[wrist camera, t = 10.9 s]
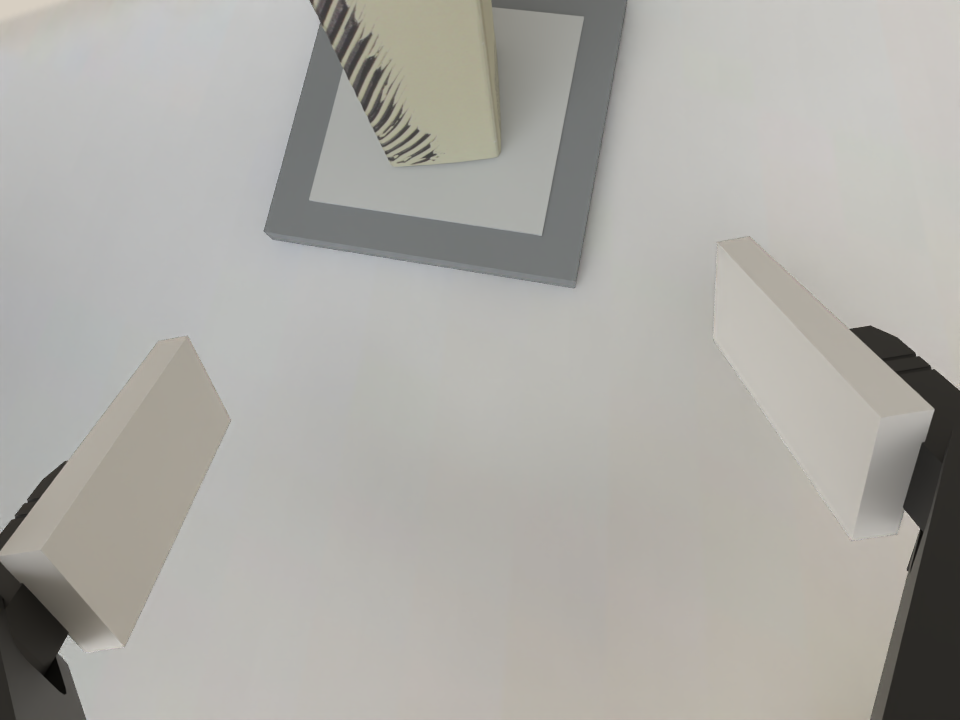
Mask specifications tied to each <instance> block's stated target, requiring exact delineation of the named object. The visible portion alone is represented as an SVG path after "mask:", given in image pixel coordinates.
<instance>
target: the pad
mask: <svg viewBox="0 0 960 720" xmlns="http://www.w3.org/2000/svg"><path fill="white" fill-rule="evenodd" d="M491 3H492V13H493V23H494V33H495V40H496V49H497V62H498V76H499V94H500V115H501V153H500V154H499V156H498V157H495V158H489V159H480V160H472V161H464V162H455V163H445V164H432V165H416V166H400V167H394V166H392V165H391V164H390V162H389V161H388V158H387V156H386V154H385V152H384V150H383V148H382V146H381V144H380V142H379V140H378V138H377V136H376V134H375V132H374V130H373V127H372V126H371V124H370V122H369V120H368V117H367V115H366V114H365V112H364V110H363V108H362V105H361V103H360V101H359V100H358V98H357V96H356V94H355V91H354V89H353V87H352V85H351V84H350V82H349V80H348V78H347V75H346V73H345V71H344V69H343V67H342V66H341V64H340V61H339V59H338V57H337V54H336V53H335V51H334V49H333V47H332V45H331V43H330V41H329V38H328V36H327V34H326V32H325V31H324V29H323V27H322V25H321V23H320V26H319V29H318V33H317V37H316V40H315V44H314V48H313V52H312V55H311V59H310V63H309V66H308V70H307V74H306V77H305V81H304V85H303V88H302V92H301V96H300V99H299V103H298V107H297V111H296V114H295V118H294V122H293V125H292V129H291V133H290V136H289V140H288V144H287V147H286V151H285V155H284V158H283V162H282V166H281V169H280V173H279V177H278V181H277V184H276V188H275V192H274V195H273V199H272V203H271V206H270V210H269V214H268V217H267V221H266V225H265V228H264V232H265V233H266V234H267V235H268V236H269V237H271V238H272V239H274V240H280V241H286V242H292V243H298V244H305V245H311V246H317V247H323V248H329V249H336V250H342V251H348V252H354V253H360V254H366V255H373V256H379V257H385V258H391V259H397V260H404V261H410V262H416V263H422V264H428V265H435V266H441V267H447V268H453V269H459V270H466V271H472V272H478V273H484V274H490V275H497V276H503V277H509V278H515V279H521V280H527V281H534V282H540V283H546V284H552V285H558V286H565V287H571V288H575V284H576V278H577V273H578V267H579V262H580V256H581V251H582V245H583V240H584V235H585V229H586V224H587V218H588V213H589V207H590V202H591V196H592V191H593V185H594V180H595V174H596V169H597V163H598V158H599V152H600V147H601V141H602V136H603V130H604V125H605V119H606V114H607V108H608V103H609V97H610V92H611V86H612V81H613V75H614V70H615V64H616V59H617V53H618V48H619V42H620V37H621V31H622V26H623V20H624V15H625V9H626V4H627V0H491Z"/></svg>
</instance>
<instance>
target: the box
mask: <svg viewBox="0 0 960 720" xmlns="http://www.w3.org/2000/svg"><path fill="white" fill-rule="evenodd" d="M310 2H311V4H312V6H313V8H314V10H315V11H316V13H317V15H318V17H319V20H320V23H321V25H322V27H323V29H324V31H325V32H326V34H327V36H328V38H329V41H330V43H331V45H332V47H333V49H334V51H335V53H336V54H337V57H338V59H339V61H340V64H341V66H342V67H343V69H344V71H345V73H346V75H347V78H348V80H349V82H350V84H351V85H352V87H353V89H354V91H355V94H356V96H357V98H358V100H359V101H360V103H361V105H362V108H363V110H364V112H365V114H366V115H367V117H368V120H369V122H370V124H371V126H372V127H373V130H374V132H375V134H376V136H377V138H378V140H379V142H380V144H381V146H382V148H383V150H384V152H385V154H386V156H387V158H388V161H389V162H390V164H391V165H392V166H394V167H400V166H416V165H432V164H445V163H455V162H464V161H472V160H480V159H489V158H495V157H498V156H499V154H500V153H501V115H500V94H499V76H498V62H497V49H496V40H495V33H494V23H493V13H492V3H491V0H310Z"/></svg>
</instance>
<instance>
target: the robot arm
mask: <svg viewBox="0 0 960 720" xmlns="http://www.w3.org/2000/svg"><path fill="white" fill-rule="evenodd" d="M713 340H714V342H715V343H716V345H717V346H718V348H719V349H720V351H721V352H722V353H723V355H724V356H725V358H726V359H727V361H728V362H729V364H730V365H731V367H732V368H733V369H734V371H735V372H736V374H737V375H738V377H739V378H740V380H741V381H742V383H743V384H744V385H745V387H746V388H747V390H748V391H749V393H750V394H751V396H752V397H753V399H754V400H755V401H756V403H757V404H758V406H759V407H760V409H761V410H762V412H763V413H764V415H765V416H766V417H767V419H768V420H769V422H770V423H771V425H772V426H773V428H774V429H775V431H776V432H777V433H778V435H779V436H780V438H781V439H782V441H783V442H784V444H785V445H786V447H787V448H788V449H789V451H790V452H791V454H792V455H793V457H794V458H795V460H796V461H797V463H798V464H799V465H800V467H801V468H802V470H803V471H804V473H805V474H806V476H807V477H808V479H809V480H810V481H811V483H812V484H813V486H814V487H815V489H816V490H817V492H818V493H819V495H820V496H821V497H822V499H823V500H824V502H825V503H826V505H827V506H828V508H829V509H830V511H831V512H832V513H833V515H834V516H835V518H836V519H837V521H838V522H839V524H840V525H841V527H842V528H843V529H844V531H845V532H846V534H847V535H848V537H849V538H850V540H851V541H855V540H862V539H869V538H876V537H883V536H889V535H896V534H897V533H898V530H899V527H900V523H901V520H902V517H903V513H904V510H905V511H906V512H907V513H908V514H909V515H910V517H911V518H912V519H913V520H914V521H915V523H916V524H917V525H918V526H919V528H920V531H919V534H918V537H917V540H916V543H915V546H914V549H913V552H912V555H911V558H910V561H909V564H908V567H907V571H908V575H907V579H906V583H905V586H904V590H903V594H902V598H901V602H900V606H899V610H898V614H897V618H896V622H895V625H894V629H893V633H892V637H891V641H890V645H889V649H888V653H887V657H886V661H885V664H884V668H883V672H882V676H881V680H880V684H879V688H878V692H877V696H876V700H875V703H874V707H873V711H872V715H871V719H870V720H960V391H959V390H958V389H957V388H956V387H955V386H954V385H952V384H951V383H950V382H949V381H948V380H947V379H945V378H944V377H943V376H942V375H941V374H940V373H938V372H937V371H936V370H935V369H933V370H932V369H931V366H930V365H929V364H928V363H927V362H925V361H924V360H923V359H922V358H921V357H920V356H917V357H916V353H915V352H914V351H913V350H911V349H910V348H909V347H908V346H907V345H905V344H904V343H903V342H902V341H901V340H900V339H898V338H897V337H895V336H893V335H890V334H888V333H886V332H884V331H881V330H879V329H877V328H875V327H872V326H865V327H859V328H853V329H848V328H847V327H846V326H845V325H844V324H843V323H842V322H841V321H840V320H839V319H838V318H837V317H835V316H834V315H833V314H832V313H831V312H830V311H829V310H828V309H827V308H826V307H825V306H824V305H823V304H822V303H820V302H819V301H818V300H817V299H816V298H815V297H814V296H813V295H812V294H811V293H810V292H809V291H808V290H807V289H805V288H804V287H803V286H802V285H801V284H800V283H799V282H798V281H797V280H796V279H795V278H794V277H793V276H792V275H790V274H789V273H788V272H787V271H786V270H785V269H784V268H783V267H782V266H781V265H780V264H779V263H778V262H777V261H775V260H774V259H773V258H772V257H771V256H770V255H769V254H768V253H767V252H766V251H765V250H764V249H763V248H762V247H760V246H759V245H758V244H757V243H756V242H755V241H754V240H753V239H752V238H751V237H750V236H749V237H743V238H738V239H732V240H726V241H721V242H717V254H716V277H715V301H714V325H713ZM230 422H231V419H230V417H229V415H228V413H227V411H226V409H225V407H224V405H223V403H222V401H221V399H220V398H219V396H218V394H217V392H216V390H215V388H214V386H213V384H212V382H211V380H210V378H209V376H208V374H207V372H206V370H205V368H204V366H203V364H202V362H201V360H200V359H199V357H198V355H197V353H196V351H195V349H194V347H193V345H192V343H191V341H190V339H189V337H188V336H183V337H178V338H172V339H166V340H161V341H158V342H157V344H156V345H155V346H154V348H153V349H152V350H151V352H150V353H149V354H148V356H147V357H146V358H145V360H144V361H143V362H142V364H141V365H140V366H139V368H138V369H137V370H136V371H135V373H134V374H133V375H132V377H131V378H130V379H129V381H128V382H127V383H126V385H125V386H124V387H123V389H122V390H121V391H120V393H119V394H118V395H117V397H116V398H115V399H114V401H113V402H112V403H111V405H110V406H109V407H108V409H107V410H106V411H105V413H104V414H103V415H102V417H101V418H100V419H99V421H98V422H97V423H96V425H95V426H94V427H93V429H92V430H91V431H90V433H89V434H88V435H87V436H86V438H85V439H84V440H83V442H82V443H81V444H80V446H79V447H78V448H77V450H76V451H75V452H74V454H73V455H72V456H71V458H70V459H69V460H68V461H65V462H63V463H62V464H61V465H60V466H59V467H57V468H56V469H55V470H54V471H53V472H51V473H50V474H49V475H48V476H47V477H45V478H44V479H43V480H42V481H41V482H40V484H39V485H38V486H37V488H36V489H35V490H34V491H33V493H32V494H31V495H30V497H29V498H28V499H27V500H28V503H24V504H23V506H22V507H21V508H20V509H19V511H18V512H17V513H16V515H15V519H13V520H11V521H10V522H9V524H8V525H7V526H6V528H5V529H4V530H3V531H2V533H1V534H0V720H86V717H85V714H84V711H83V708H82V705H81V702H80V699H79V696H78V693H77V690H76V688H75V685H74V682H73V679H72V676H71V673H70V670H69V667H68V664H67V663H66V662H65V661H64V659H63V658H62V657H61V656H60V655H59V654H58V651H59V650H60V648H61V646H62V644H63V642H64V641H65V639H66V637H67V635H69V636H70V637H71V638H72V639H73V640H74V641H75V642H76V643H77V644H78V646H79V647H80V648H81V649H82V650H83V651H84V652H85V653H89V652H95V651H102V650H109V649H116V648H123V647H125V646H126V644H127V641H128V639H129V637H130V635H131V633H132V631H133V629H134V626H135V624H136V622H137V620H138V618H139V616H140V614H141V612H142V609H143V607H144V605H145V603H146V601H147V599H148V597H149V594H150V592H151V590H152V588H153V586H154V584H155V582H156V580H157V577H158V575H159V573H160V571H161V569H162V567H163V565H164V562H165V560H166V558H167V556H168V554H169V552H170V550H171V548H172V545H173V543H174V541H175V539H176V537H177V535H178V533H179V530H180V528H181V526H182V524H183V522H184V520H185V518H186V516H187V513H188V511H189V509H190V507H191V505H192V503H193V501H194V498H195V496H196V494H197V492H198V490H199V488H200V486H201V484H202V481H203V479H204V477H205V475H206V473H207V471H208V469H209V466H210V464H211V462H212V460H213V458H214V456H215V454H216V452H217V449H218V447H219V445H220V443H221V441H222V439H223V437H224V434H225V432H226V430H227V428H228V426H229V424H230Z"/></svg>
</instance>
